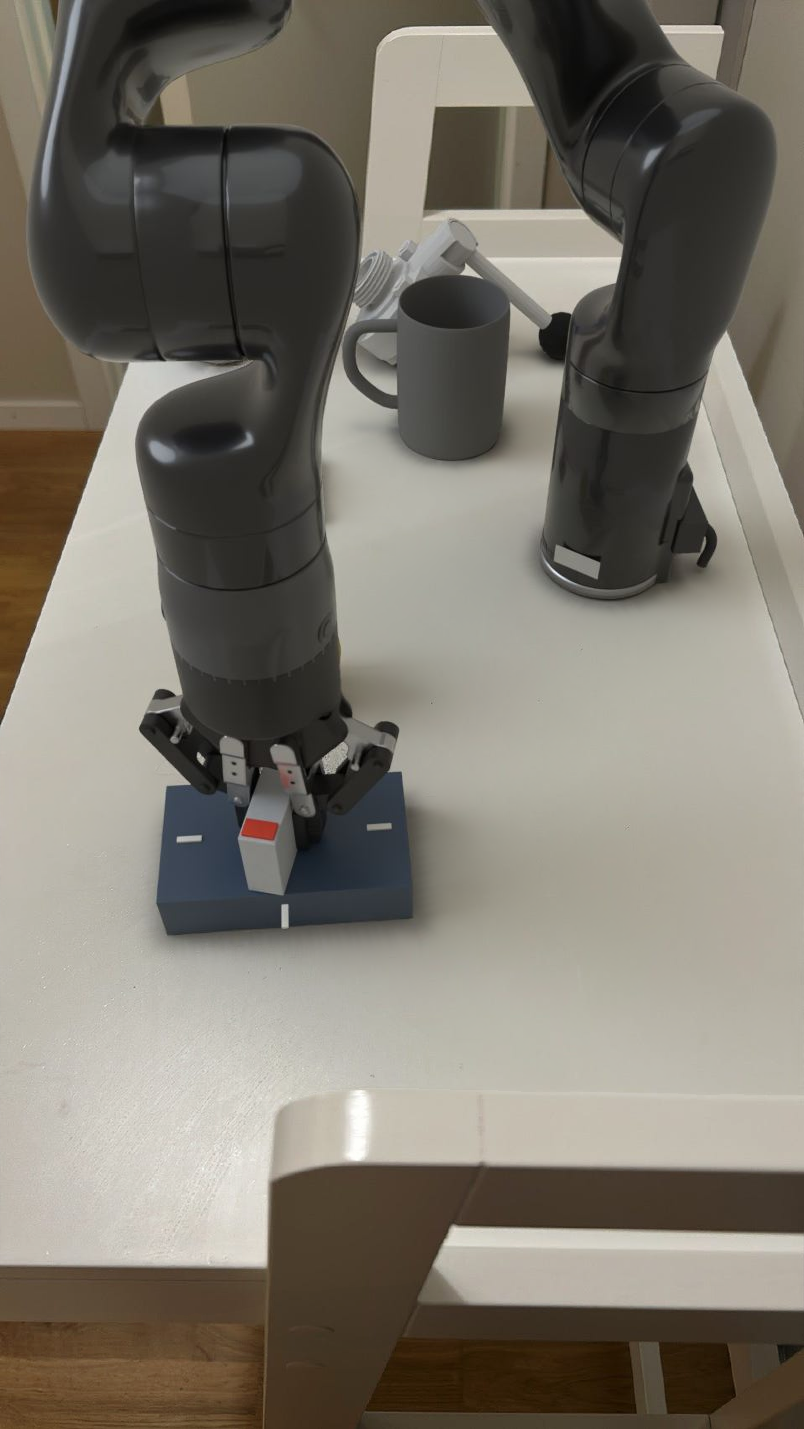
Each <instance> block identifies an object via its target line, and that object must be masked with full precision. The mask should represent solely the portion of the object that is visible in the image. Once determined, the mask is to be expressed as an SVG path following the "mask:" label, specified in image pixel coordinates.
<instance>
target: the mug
mask: <svg viewBox="0 0 804 1429" xmlns="http://www.w3.org/2000/svg"><path fill="white" fill-rule="evenodd" d="M355 322H356V321H355ZM355 322H354V323H352V324H351V325H349V327H348V328H347V330H346V331H345V332H344V335H343V338H342V343H341V352H342V353H341V358H342V365H343V370H344V373H345V375H346V378H347V380H349V383H351V385H352V386H354V388H355V389H356V390H357V391H358V392H360V393H361V394H362V395H364V396H365V398H368V399H369V400H370V401H372V402H373V403H375V404H377V405H379V406H381V407H382V408H387V409H391V410H397V422H398V431H399V435H400V437H401V439H402V442H403V443H404V444H405V445H406V446H407V447H408V448H409V449H410V450H412V451H414V452H415V453H417V454H419V455H422V456H424V457H427V458H429V459H435V460H442V461H460V460H461V461H462V460H466V459H472V458H475V457H477V456H480V455H482V454H484V453H486V452H487V451H489V450H490V449H492V448H493V446H494V445H495V444H496V443H497V441H498V439H499V437H500V435H501V429H502V424H503V417H504V416H503V415H504V406H505V395H506V386H507V385H506V384H507V375H508V374H507V372H508V362H509V346H510V330H511V302H510V301H509V297H508V295H507V294H506V292H505V291H504V290H503V289H502V288H500V287H499V286H498V285H496V284H494V283H492V282H490V281H488V280H485V279H483V278H482V277H478V276H472V275H467V274H460V275H453V274H452V275H438V276H432V277H428V278H424V279H421V280H419V281H416V282H414V283H412V284H411V285H409V286H408V287H406V288H405V289H404V290H403V292H402V293H401V295H400V297H399V300H398V310H397V319H371V320H363V321H359V322H356V323H355ZM393 332H397V363H396V393H397V394H390V393H387V392H385V391H383V390H381V389H379V388H378V387H376V386H375V385H374V384H373V383H372V382H370V381H369V380H368V379H367V378H366V377H365V376H364V375H363V373H362V372H361V371H360V370H359V367H358V363H357V357H356V355H357V345H358V343H357V341H358V339H359V337H360V336H361V335H362V334H365V333H393Z"/></svg>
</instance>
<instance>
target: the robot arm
mask: <svg viewBox="0 0 804 1429" xmlns="http://www.w3.org/2000/svg"><path fill="white" fill-rule="evenodd" d="M473 2H474V3H475V5H476V6H477V8H478V9H479V10H480V12H481V14H482V15H483V16H484V18H485V20H486V21H487V22H488V24H489V25H490V27H491V28H492V30H493V31H494V32H495V34H496V35H497V36H498V38H499V39H500V41H501V42H502V44H503V45H504V47H505V48H506V51H507V52H508V53H509V56H510V58H511V59H512V61H513V63H514V65H515V66H516V68H517V70H518V72H519V75H520V77H521V80H522V81H523V83H524V85H525V87H526V89H527V93H528V94H529V97H530V99H531V102H532V104H533V107H534V109H535V112H536V113H537V116H538V119H539V120H540V123H541V125H542V128H543V130H544V132H545V135H546V137H547V140H548V143H549V145H550V148H551V149H552V152H553V154H554V157H555V159H556V162H557V164H558V166H559V169H560V171H561V173H562V176H563V178H564V180H565V183H566V185H567V187H568V189H569V191H570V193H571V194H572V197H573V199H574V200H575V202H576V203H577V204H578V206H579V207H580V209H581V210H582V211H583V212H584V214H585V215H586V216H587V217H588V219H590V220H591V221H592V222H593V224H595V225H596V226H598V227H599V228H600V229H601V230H602V231H604V232H605V233H606V234H607V235H609V236H610V237H611V238H612V239H614V240H615V241H616V242H618V243H619V244H620V245H621V246H622V251H621V257H620V262H619V266H618V267H619V268H618V272H617V276H616V281H615V283H610V284H606V285H603V286H601V287H598V288H596V289H593V290H591V291H590V292H587V294H585V295H584V296H583V297H582V298H581V299H579V301H578V302H577V303H576V305H575V306H574V308H573V311H572V313H571V314H572V316H571V320H570V325H569V332H568V340H567V348H566V356H565V358H564V365H563V373H562V380H561V388H560V389H561V390H560V397H559V405H558V413H557V421H556V428H555V435H554V436H555V437H554V443H553V444H554V445H553V451H552V460H551V467H550V474H549V475H550V476H549V483H548V490H547V497H546V498H547V499H546V505H545V506H546V507H545V514H544V523H543V527H542V532H541V538H540V543H539V551H538V556H539V561H540V565H541V567H542V569H543V570H544V572H545V573H546V574H547V576H548V577H549V578H550V579H551V580H552V581H553V582H554V583H555V584H557V585H559V586H560V587H562V588H563V589H566V590H567V591H570V592H572V593H575V594H577V595H581V596H585V597H587V598H592V599H593V598H594V599H601V600H602V599H604V600H615V599H622V598H623V599H625V598H628V597H631V596H635V595H637V594H640V593H642V592H644V591H646V590H648V589H649V588H651V587H652V586H653V585H654V584H656V583H665V582H668V581H669V579H670V575H671V572H672V569H673V568H672V567H673V563H674V560H675V555H678V554H679V555H681V554H700V555H699V557H698V558H697V561H696V563H695V565H696V566H697V567H699V568H703V569H704V568H707V566H708V564H709V562H710V560H711V559H712V557H713V555H714V553H715V551H716V549H717V546H718V536H717V532H716V530H715V529H714V527H713V526H712V525H711V524H710V523H709V521H708V518H707V515H706V513H705V511H704V508H703V506H702V504H701V502H700V499H699V496H698V494H697V492H696V490H695V487H694V473H693V470H692V468H691V466H690V463H689V460H688V458H689V455H690V451H691V446H692V441H693V438H694V434H695V429H696V426H697V421H698V417H699V413H700V408H701V405H702V400H703V396H704V393H705V388H706V384H707V380H708V375H709V371H710V368H711V364H712V362H713V357H714V353H715V350H716V347H717V346H718V345H719V343H720V341H721V340H722V339H723V337H724V335H725V333H726V332H727V330H728V329H729V327H730V325H731V323H732V322H733V320H734V318H735V316H736V314H737V311H738V308H739V305H740V303H741V300H742V297H743V294H744V291H745V287H746V284H747V280H748V278H749V274H750V270H751V268H752V265H753V261H754V258H755V254H756V252H757V249H758V245H759V242H760V239H761V236H762V232H763V229H764V226H765V223H766V219H767V216H768V213H769V210H770V206H771V203H772V198H773V194H774V191H775V190H774V189H775V186H776V185H775V184H776V178H777V174H778V161H779V160H778V159H779V148H778V146H779V145H778V138H777V133H776V128H775V125H774V123H773V121H772V119H771V117H770V116H769V114H768V113H767V112H766V111H765V110H764V108H762V106H760V105H759V104H757V103H756V102H755V101H753V100H751V99H750V98H749V97H747V96H745V95H744V94H742V93H740V92H738V91H737V90H734V89H733V88H731V87H729V86H727V85H726V84H724V83H722V82H720V81H718V80H717V79H715V78H713V77H712V76H710V75H709V74H706V73H704V72H702V71H701V70H699V69H697V68H695V67H694V66H693V65H691V64H690V63H689V62H688V61H687V60H685V59H684V58H683V57H682V56H681V55H680V54H679V53H678V52H677V50H676V48H675V47H674V46H673V44H672V43H671V42H670V40H669V38H668V36H667V35H666V34H665V32H664V30H663V29H662V27H661V25H660V23H659V21H658V19H657V18H656V16H655V13H654V12H653V10H652V8H651V5H650V3H649V2H648V0H473ZM294 3H295V0H58V5H57V16H56V23H55V24H56V25H55V33H54V40H53V50H52V51H53V52H52V59H51V66H50V71H49V72H50V73H49V78H48V84H47V91H46V96H45V102H44V106H43V113H42V117H41V122H40V127H39V133H38V139H37V143H36V147H35V148H36V149H35V153H34V159H33V164H32V168H31V175H30V181H29V189H28V198H27V207H26V214H25V216H26V218H25V219H26V220H25V221H26V222H25V240H26V254H27V262H28V266H29V272H30V275H31V280H32V284H33V286H34V290H35V292H36V295H37V298H38V299H39V302H40V304H41V306H42V308H43V310H44V312H45V314H46V315H47V316H48V318H49V320H50V321H51V323H52V325H53V327H54V328H55V329H56V330H57V331H58V333H59V334H60V335H61V336H62V337H63V338H64V339H65V341H67V343H69V345H70V346H71V347H73V348H74V349H75V350H77V351H78V352H80V353H81V354H83V355H85V356H88V357H90V358H92V359H95V360H96V361H97V360H98V361H102V362H108V363H118V364H119V363H120V364H121V363H125V364H126V363H134V364H136V363H141V364H142V363H166V362H207V361H235V362H237V361H239V362H240V361H244V360H245V359H247V360H248V361H250V362H249V363H247V364H245V365H244V366H241V367H238V368H235V369H233V370H230V371H227V372H224V373H221V374H217V375H213V376H210V377H205V378H203V379H199V380H196V381H193V382H190V383H186V384H185V385H182V386H180V387H177V388H174V389H173V390H170V391H169V392H167V393H165V394H163V396H161V397H159V398H158V399H156V400H155V401H154V402H153V403H152V404H151V405H150V406H149V407H148V408H147V409H146V410H145V412H144V413H143V415H142V416H141V419H140V420H139V422H138V426H137V429H136V433H135V441H134V450H135V451H134V452H135V462H136V467H137V472H138V477H139V481H140V482H139V483H140V487H141V490H142V495H143V500H144V504H145V509H146V514H147V518H148V522H149V526H150V530H151V531H150V532H151V535H152V541H153V543H154V544H153V545H154V548H155V553H156V564H157V584H158V585H157V586H158V590H159V597H160V609H161V615H162V617H163V619H164V621H165V623H166V628H167V632H168V636H169V641H170V645H171V646H170V647H171V649H172V654H173V658H174V663H175V667H176V671H177V675H178V679H179V685H180V689H181V692H182V694H178V695H177V694H175V692H173V691H171V690H169V689H166V688H158V689H156V690H155V691H154V694H153V696H152V698H151V700H150V701H149V704H148V705H147V708H146V709H145V712H144V714H143V718H142V720H141V722H140V725H139V726H138V731H139V733H140V734H141V735H142V736H143V737H144V739H146V740H147V741H148V743H150V744H151V745H152V746H153V748H154V749H156V750H157V751H158V753H160V755H162V757H163V758H164V759H165V760H166V761H167V762H168V763H169V764H170V765H171V766H172V767H173V768H174V769H175V770H176V771H177V772H178V773H179V774H180V775H181V776H182V777H183V778H184V779H185V780H186V781H187V782H188V783H189V785H192V786H193V787H194V788H195V789H196V790H197V791H198V792H200V793H202V794H205V795H213V794H215V793H216V790H218V791H220V792H223V793H225V794H227V795H228V800H229V802H230V803H232V804H233V805H234V806H235V811H236V816H237V820H238V826H239V828H240V829H241V828H242V825H243V822H244V819H245V817H246V814H247V811H248V808H249V805H250V802H251V799H252V796H253V794H254V791H255V788H256V785H257V782H258V779H259V776H260V773H261V770H262V768H263V767H267V768H271V769H274V770H277V771H278V772H279V776H280V779H281V783H282V786H283V790H284V793H287V794H289V795H290V798H291V802H292V805H293V812H292V820H293V828H294V835H295V842H296V849H300V850H306V851H309V850H310V848H311V844H312V843H315V844H319V842H320V841H321V839H322V835H323V831H324V828H325V824H326V821H327V814H326V809H327V810H328V811H329V812H330V813H332V814H335V815H345V814H347V813H348V812H349V811H350V810H351V809H352V808H353V807H354V806H355V805H356V804H357V803H358V802H359V801H360V800H361V799H362V798H363V797H364V796H365V794H366V793H367V792H368V791H369V790H370V789H371V788H372V787H373V786H374V785H375V784H376V783H377V782H378V781H379V780H380V779H381V778H382V777H383V776H384V775H385V774H386V773H387V772H390V771H391V767H392V763H393V758H394V755H395V751H396V746H397V743H398V742H397V741H398V738H399V734H400V728H399V726H398V725H397V724H396V723H394V722H392V721H389V720H381V721H379V722H378V723H376V724H375V725H374V726H373V727H372V726H371V725H369V724H367V723H364V722H363V721H360V720H358V719H356V718H354V712H353V708H352V706H351V704H350V702H349V701H348V700H347V698H346V697H345V696H344V694H343V692H342V678H341V677H342V676H341V658H340V659H339V642H338V637H339V627H338V611H337V594H336V579H335V569H334V562H333V558H332V553H331V549H330V545H329V541H328V536H327V528H326V526H327V525H326V513H325V499H324V482H323V457H322V456H323V455H322V444H323V430H324V428H323V427H324V416H325V411H326V406H327V400H328V395H329V388H330V385H331V381H332V377H333V374H334V373H333V372H334V368H335V365H336V360H337V357H338V354H339V351H340V346H341V345H342V342H343V338H344V335H345V330H346V327H347V323H348V319H349V316H350V312H351V309H352V305H353V298H354V293H355V288H356V283H357V278H358V273H359V268H360V264H361V262H362V252H363V219H362V218H363V217H362V209H361V205H360V200H359V199H360V198H359V196H358V192H357V190H356V187H355V184H354V182H353V179H352V176H351V173H349V170H348V169H347V167H346V165H345V164H344V162H343V160H342V158H341V157H340V155H339V154H338V153H337V152H336V151H335V150H334V149H333V146H331V144H330V143H329V142H328V141H326V140H325V139H324V138H322V137H321V136H320V134H318V133H316V131H315V132H314V131H313V130H311V129H308V128H306V127H303V126H300V125H295V124H288V123H270V122H269V123H268V122H267V123H266V122H265V123H264V122H261V123H256V122H255V123H233V124H231V125H230V126H229V125H228V124H227V123H203V124H202V123H201V124H198V123H197V124H190V123H189V124H147V122H148V119H149V118H150V115H151V113H152V111H153V109H154V107H155V104H156V103H157V101H158V99H159V98H160V96H161V95H162V93H163V92H164V91H165V89H166V88H167V87H168V86H169V85H170V84H171V83H173V82H174V81H176V80H178V79H179V78H181V77H183V76H185V75H187V74H189V73H192V72H195V71H197V70H200V69H203V68H206V67H209V66H213V65H216V64H220V63H222V62H226V61H229V60H232V59H237V58H240V57H243V56H246V55H248V54H251V53H253V52H256V51H258V50H260V49H262V48H263V47H265V46H267V45H269V44H271V43H272V42H273V41H275V40H276V39H277V38H278V37H279V36H280V35H281V34H282V32H284V30H285V29H286V27H287V25H288V23H289V21H290V19H291V16H292V12H293V8H294V5H295V4H294ZM704 540H705V545H704V548H703V550H702V547H703V544H704ZM342 743H344V744H345V745H346V746H347V751H346V754H345V755H346V757H345V759H344V760H343V761H342V762H341V763H340V764H339V765H338V766H337V768H336V769H335V772H334V773H326V771H325V770H326V769H325V766H324V762H323V758H324V757H326V756H327V755H328V754H330V753H331V752H332V751H334V749H336V748H337V747H338V746H339V745H341V744H342ZM198 754H200V755H201V757H202V758H203V759H204V760H203V763H201V761H199V758H198Z"/></svg>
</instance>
